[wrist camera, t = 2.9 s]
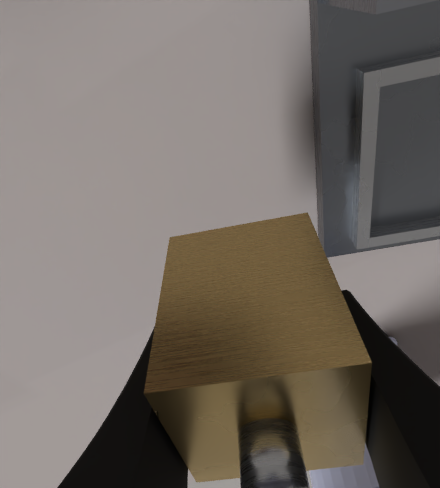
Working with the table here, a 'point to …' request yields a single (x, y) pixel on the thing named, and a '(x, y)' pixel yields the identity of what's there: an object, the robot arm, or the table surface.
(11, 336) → the table surface
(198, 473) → the housing
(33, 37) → the table surface
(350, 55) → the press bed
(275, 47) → the table surface
